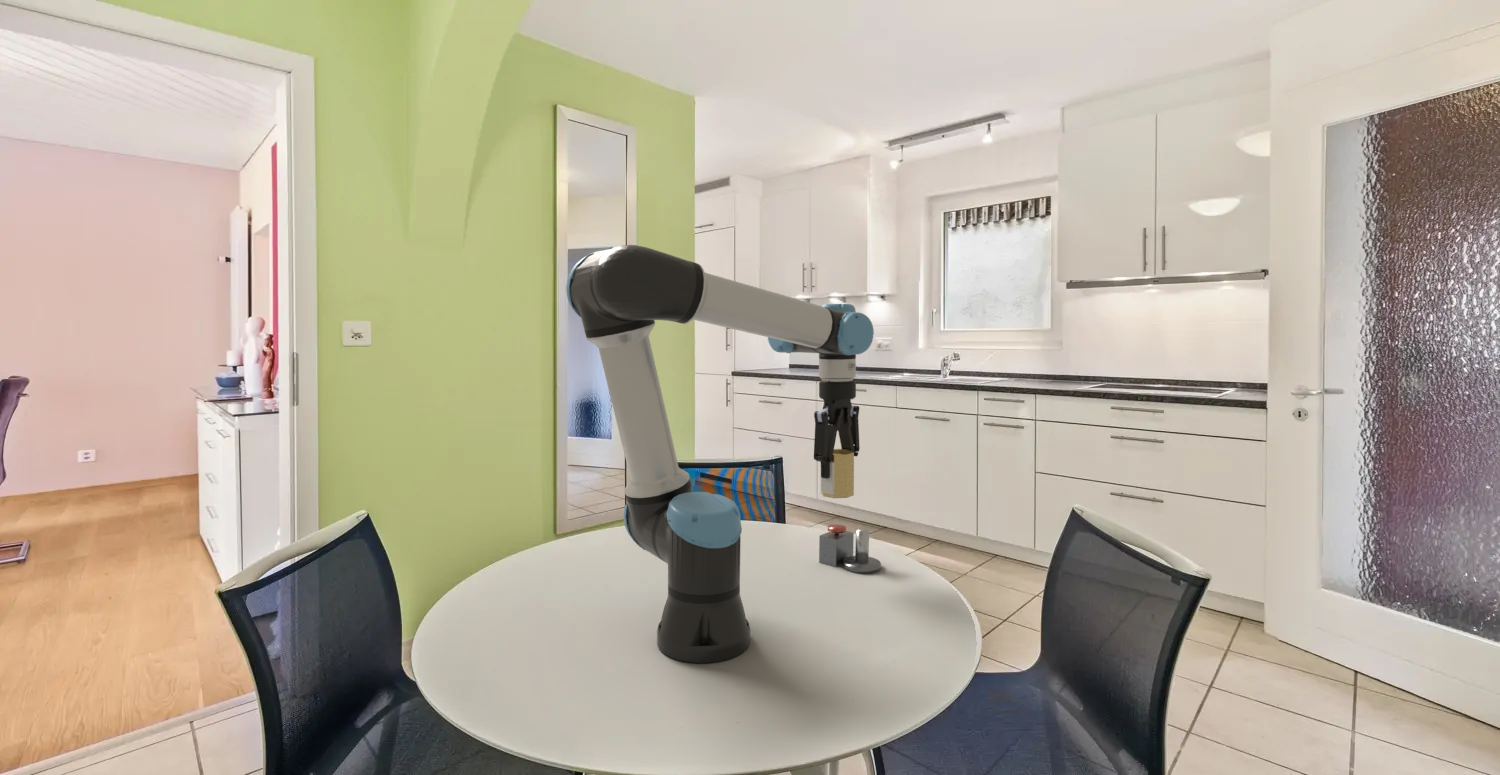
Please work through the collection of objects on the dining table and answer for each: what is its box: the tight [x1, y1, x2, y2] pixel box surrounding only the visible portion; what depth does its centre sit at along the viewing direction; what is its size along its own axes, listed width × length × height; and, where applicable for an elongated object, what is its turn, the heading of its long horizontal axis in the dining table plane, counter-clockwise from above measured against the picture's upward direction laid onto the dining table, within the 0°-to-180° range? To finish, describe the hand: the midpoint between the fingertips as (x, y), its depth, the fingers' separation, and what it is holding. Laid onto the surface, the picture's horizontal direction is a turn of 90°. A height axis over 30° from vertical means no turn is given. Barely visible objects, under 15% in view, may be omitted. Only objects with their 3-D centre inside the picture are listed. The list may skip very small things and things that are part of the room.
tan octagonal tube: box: [820, 448, 855, 499], centre depth 142 cm, size 6×6×9 cm
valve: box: [818, 523, 882, 575], centre depth 148 cm, size 8×13×8 cm, turn 50°
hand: (837, 489), depth 142 cm, fingers closed on tan octagonal tube, 6 cm apart
